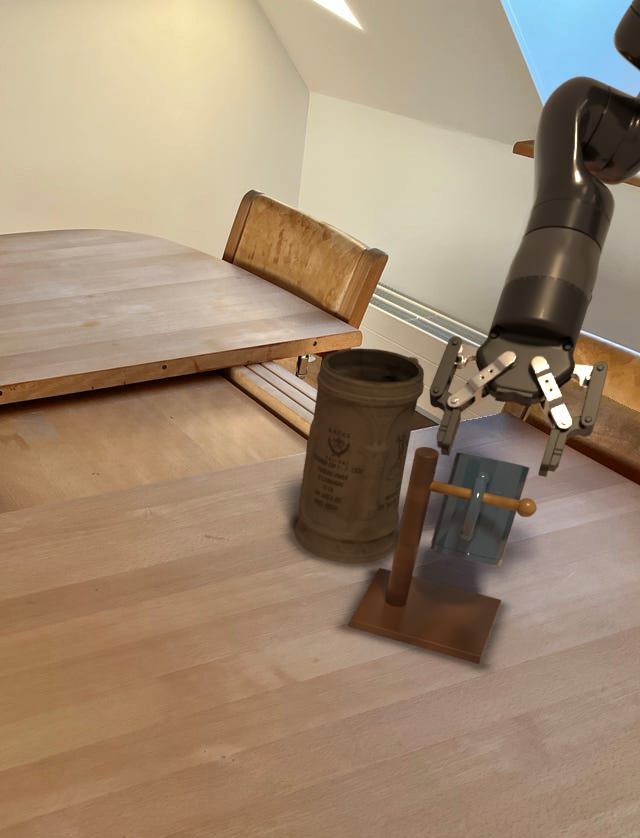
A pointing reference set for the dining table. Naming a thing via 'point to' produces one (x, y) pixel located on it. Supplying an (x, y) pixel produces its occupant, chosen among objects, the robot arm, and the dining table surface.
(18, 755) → the dining table surface
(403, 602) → the mug stand
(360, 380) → the beer stein
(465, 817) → the dining table surface
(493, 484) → the mug
